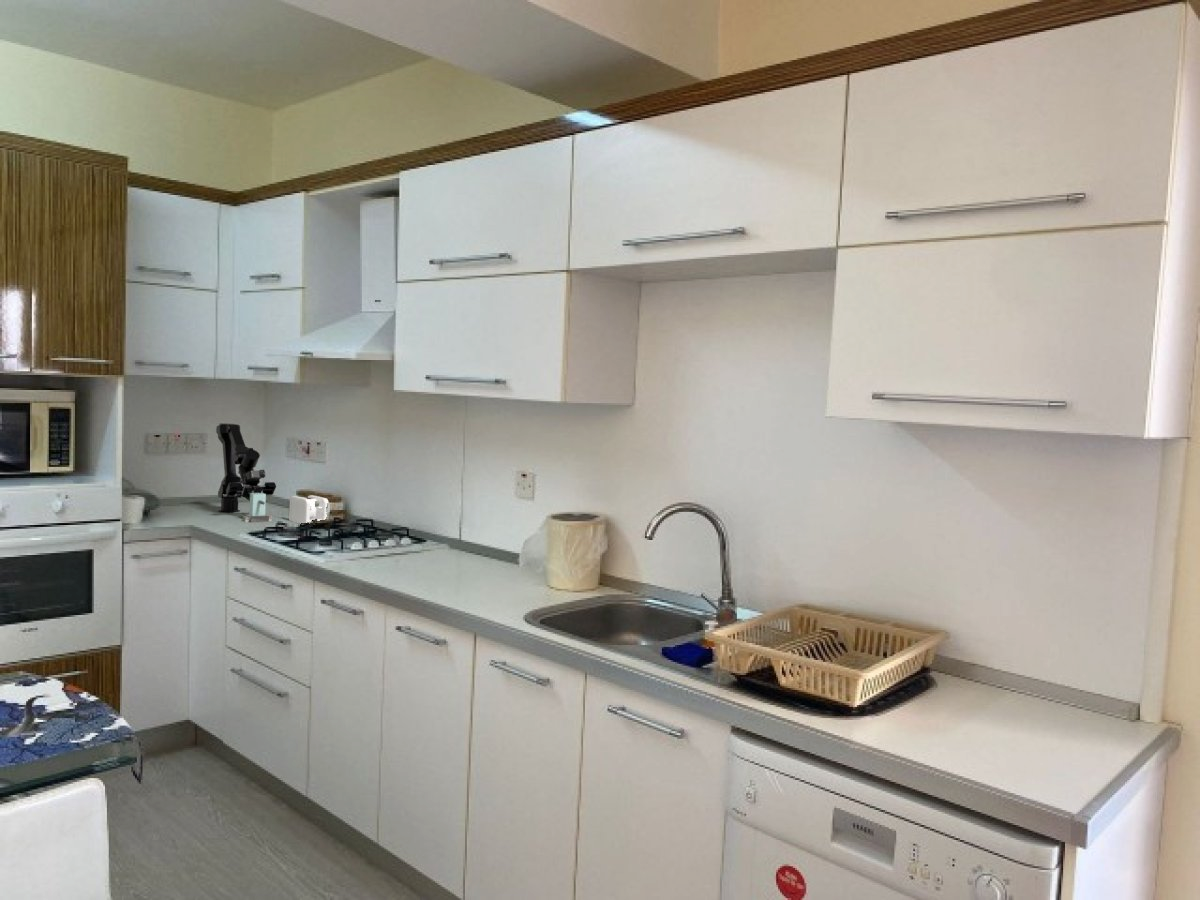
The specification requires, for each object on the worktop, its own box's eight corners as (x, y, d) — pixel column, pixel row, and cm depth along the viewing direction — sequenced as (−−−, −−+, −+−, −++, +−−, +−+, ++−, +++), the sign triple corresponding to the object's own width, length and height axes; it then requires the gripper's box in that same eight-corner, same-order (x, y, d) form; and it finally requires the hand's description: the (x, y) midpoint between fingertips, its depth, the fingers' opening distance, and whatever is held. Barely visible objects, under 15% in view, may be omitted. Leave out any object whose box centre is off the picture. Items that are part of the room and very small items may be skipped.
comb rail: (232, 520, 363) (233, 511, 363) (262, 518, 371) (262, 510, 370) (245, 525, 351) (245, 517, 350) (275, 524, 358) (276, 515, 358)
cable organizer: (287, 523, 364) (288, 495, 363) (310, 521, 372) (311, 494, 371) (305, 528, 354) (306, 499, 353) (329, 526, 362) (330, 498, 361)
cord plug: (247, 520, 358) (248, 493, 357) (262, 519, 361) (263, 492, 361) (255, 523, 351) (256, 496, 350) (270, 522, 354) (271, 495, 354)
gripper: (229, 463, 357) (236, 493, 349) (275, 462, 368) (284, 492, 361) (222, 480, 363) (230, 510, 355) (268, 479, 375) (276, 508, 367)
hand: (255, 504), depth 359 cm, fingers closed, pressing on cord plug
